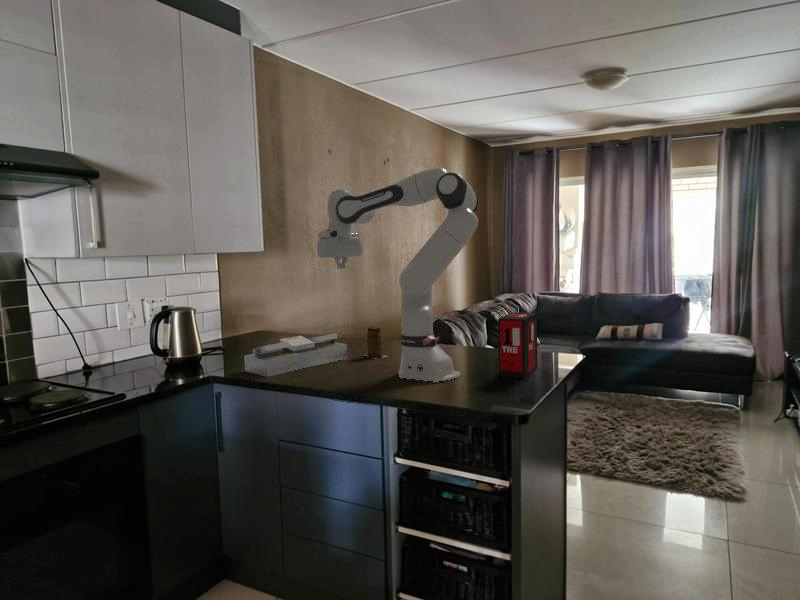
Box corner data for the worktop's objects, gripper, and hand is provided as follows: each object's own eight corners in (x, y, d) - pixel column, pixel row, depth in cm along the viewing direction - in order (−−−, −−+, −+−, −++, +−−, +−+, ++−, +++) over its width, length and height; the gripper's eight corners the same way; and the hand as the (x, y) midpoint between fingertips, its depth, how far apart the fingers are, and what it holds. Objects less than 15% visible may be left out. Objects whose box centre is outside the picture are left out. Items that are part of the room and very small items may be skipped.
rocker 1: (289, 346, 208) (288, 341, 209) (266, 351, 201) (264, 345, 201) (276, 350, 215) (275, 344, 215) (253, 354, 207) (252, 349, 207)
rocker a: (338, 337, 226) (337, 332, 226) (318, 341, 218) (317, 336, 218) (324, 340, 232) (323, 335, 232) (304, 344, 224) (303, 339, 225)
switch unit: (347, 358, 226) (346, 336, 225) (267, 376, 198) (266, 351, 198) (323, 354, 236) (322, 332, 235) (245, 371, 209) (243, 346, 208)
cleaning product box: (524, 378, 186) (524, 319, 184) (499, 375, 190) (498, 318, 188) (537, 367, 200) (537, 313, 198) (513, 366, 205) (512, 312, 203)
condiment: (376, 354, 234) (375, 326, 233) (388, 356, 228) (388, 328, 227) (362, 356, 230) (361, 328, 229) (374, 359, 223) (373, 330, 222)
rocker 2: (314, 347, 218) (315, 342, 217) (292, 351, 210) (293, 346, 210) (300, 340, 223) (301, 335, 223) (279, 344, 216) (279, 339, 215)
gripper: (354, 233, 224) (355, 267, 225) (314, 233, 209) (315, 270, 210) (365, 232, 220) (366, 267, 221) (324, 233, 205) (326, 270, 206)
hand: (341, 268), depth 216 cm, fingers closed
